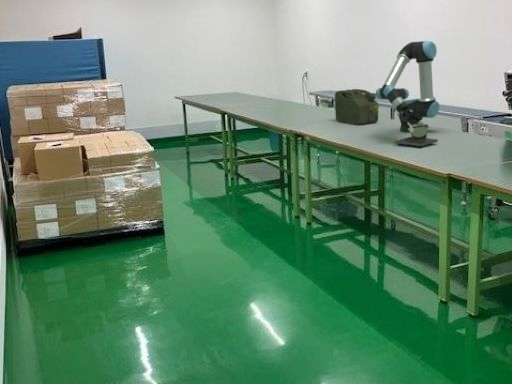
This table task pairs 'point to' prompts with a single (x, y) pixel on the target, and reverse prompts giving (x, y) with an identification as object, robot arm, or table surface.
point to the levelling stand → (415, 142)
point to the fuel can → (356, 107)
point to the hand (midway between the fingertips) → (419, 130)
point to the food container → (419, 132)
